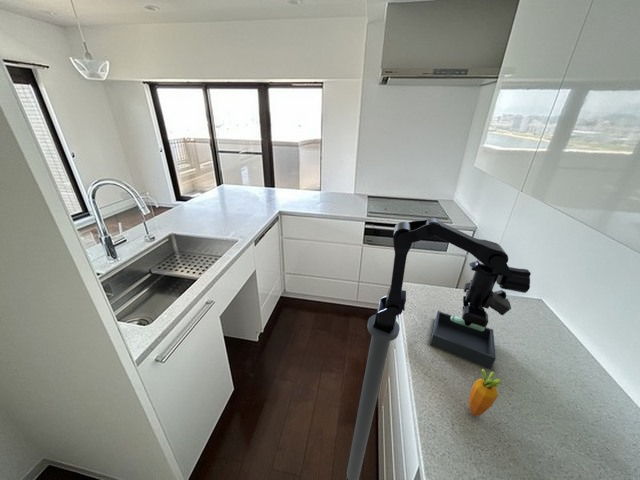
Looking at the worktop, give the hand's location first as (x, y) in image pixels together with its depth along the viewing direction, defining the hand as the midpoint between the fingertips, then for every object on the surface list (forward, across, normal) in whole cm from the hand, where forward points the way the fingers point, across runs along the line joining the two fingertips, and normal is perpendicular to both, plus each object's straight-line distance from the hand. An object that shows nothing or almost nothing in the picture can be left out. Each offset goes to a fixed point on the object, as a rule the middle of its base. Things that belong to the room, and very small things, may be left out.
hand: (466, 323), depth 83 cm
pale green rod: (+1, 0, 0) cm, 1 cm away
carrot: (+9, -25, -4) cm, 27 cm away
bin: (+8, 0, 0) cm, 9 cm away
